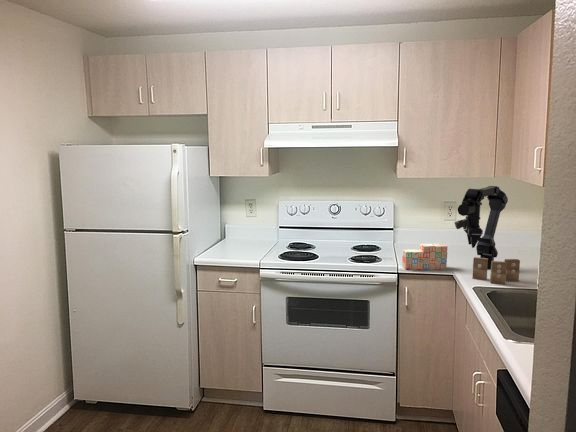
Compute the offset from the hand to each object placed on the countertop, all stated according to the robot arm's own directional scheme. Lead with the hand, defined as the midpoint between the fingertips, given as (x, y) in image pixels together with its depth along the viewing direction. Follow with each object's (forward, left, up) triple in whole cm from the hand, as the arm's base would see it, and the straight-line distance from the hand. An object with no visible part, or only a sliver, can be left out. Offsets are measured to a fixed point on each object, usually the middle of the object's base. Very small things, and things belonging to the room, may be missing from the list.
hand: (471, 246), depth 236 cm
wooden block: (+4, +10, -14) cm, 17 cm away
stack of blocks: (+14, -17, -14) cm, 26 cm away
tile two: (-7, +18, -14) cm, 24 cm away
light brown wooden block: (+2, +19, -14) cm, 23 cm away
